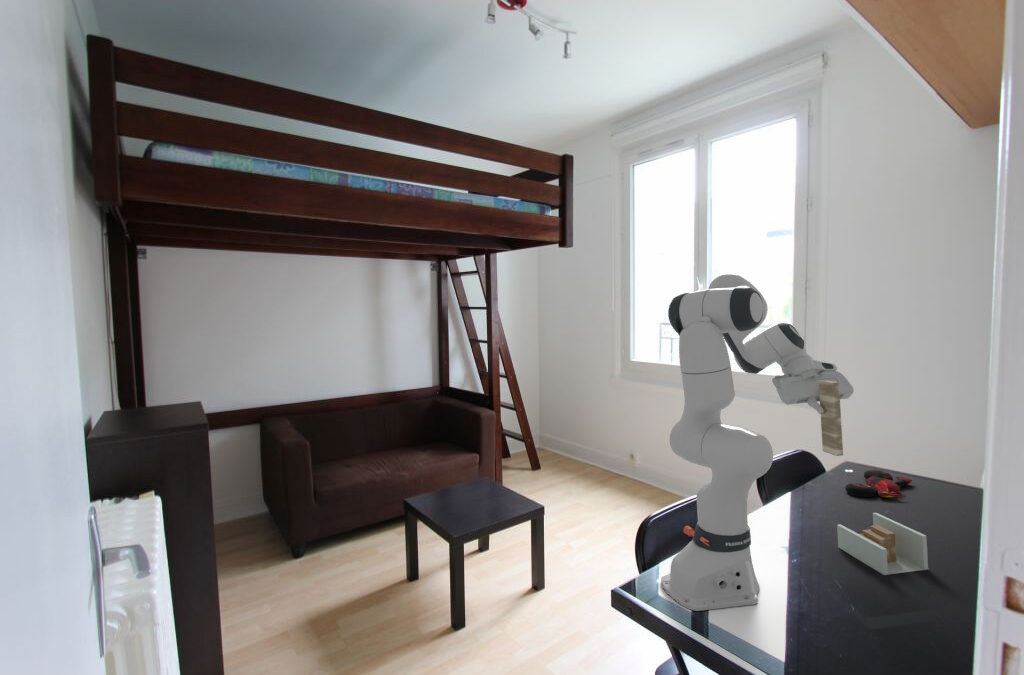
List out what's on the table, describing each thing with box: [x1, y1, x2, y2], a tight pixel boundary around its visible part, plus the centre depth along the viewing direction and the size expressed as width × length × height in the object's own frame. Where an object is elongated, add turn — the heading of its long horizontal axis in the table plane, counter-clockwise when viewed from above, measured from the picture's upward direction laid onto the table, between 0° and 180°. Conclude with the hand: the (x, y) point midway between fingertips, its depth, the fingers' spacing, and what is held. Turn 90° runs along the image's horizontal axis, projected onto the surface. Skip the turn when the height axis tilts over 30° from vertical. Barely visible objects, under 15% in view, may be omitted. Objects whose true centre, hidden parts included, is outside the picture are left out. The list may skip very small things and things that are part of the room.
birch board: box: [819, 380, 844, 457], centre depth 132 cm, size 2×5×20 cm, turn 5°
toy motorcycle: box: [844, 469, 913, 498], centre depth 164 cm, size 25×5×16 cm
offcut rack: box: [836, 512, 929, 576], centre depth 119 cm, size 12×14×10 cm
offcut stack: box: [858, 524, 896, 563], centre depth 119 cm, size 6×6×7 cm
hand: (829, 412), depth 132 cm, fingers closed on birch board, 2 cm apart
